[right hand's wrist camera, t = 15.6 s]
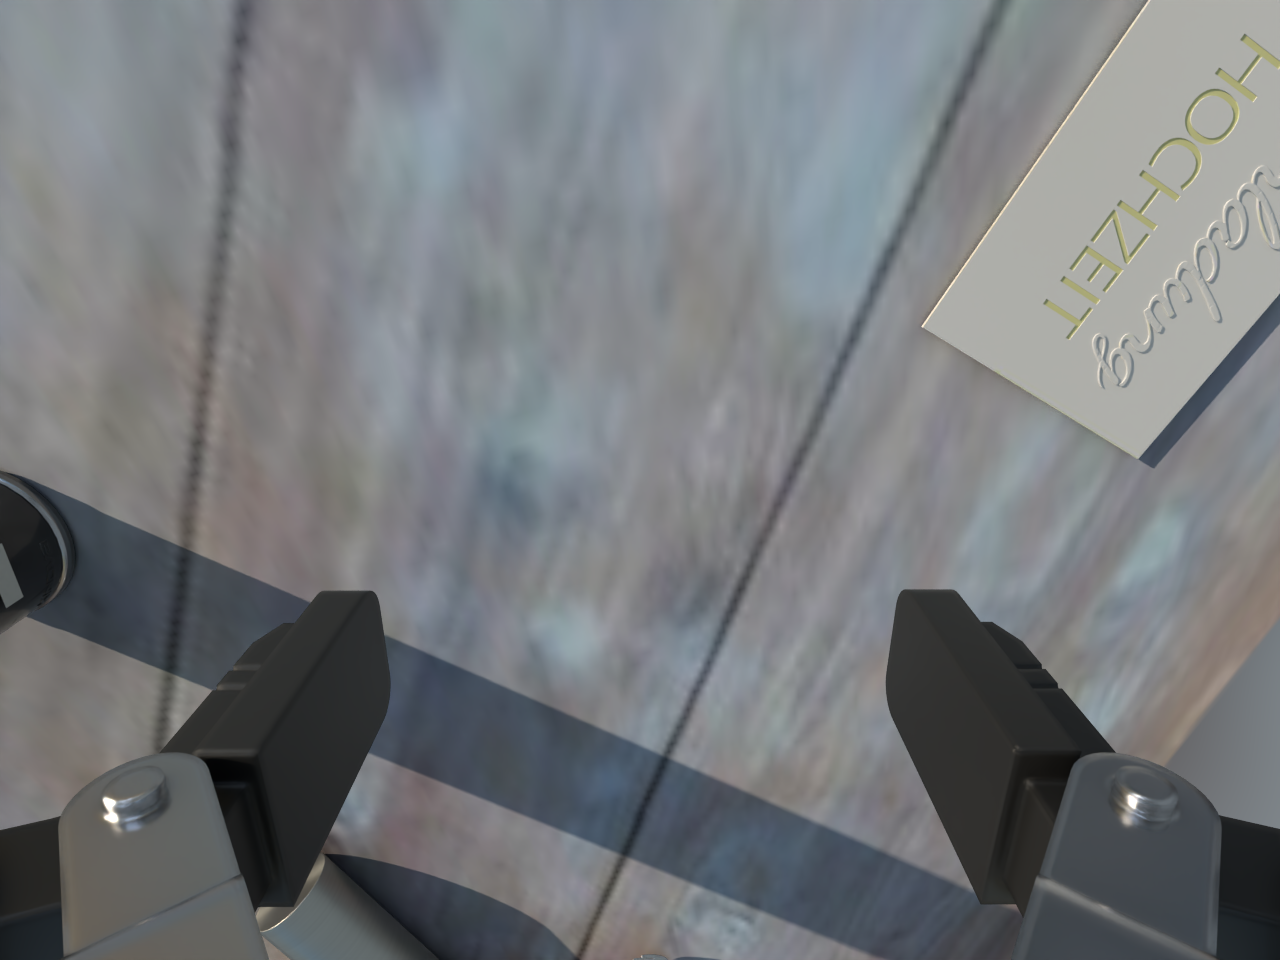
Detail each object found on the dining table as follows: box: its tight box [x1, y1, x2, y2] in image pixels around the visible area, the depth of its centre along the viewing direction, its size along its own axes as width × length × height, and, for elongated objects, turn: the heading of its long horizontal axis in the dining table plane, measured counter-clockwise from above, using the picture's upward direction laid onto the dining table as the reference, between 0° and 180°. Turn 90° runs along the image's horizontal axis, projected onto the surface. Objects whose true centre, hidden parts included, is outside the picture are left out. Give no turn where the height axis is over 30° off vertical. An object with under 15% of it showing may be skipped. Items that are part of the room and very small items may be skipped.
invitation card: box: [922, 0, 1280, 459], centre depth 37 cm, size 21×1×15 cm
